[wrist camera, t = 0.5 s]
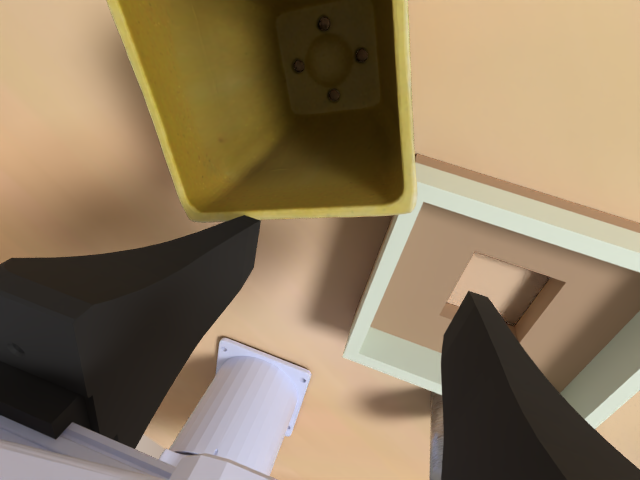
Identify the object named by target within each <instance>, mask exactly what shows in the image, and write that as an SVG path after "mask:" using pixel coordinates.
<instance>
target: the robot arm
mask: <svg viewBox="0 0 640 480" xmlns="http://www.w3.org/2000/svg"><path fill="white" fill-rule="evenodd" d="M260 222H261V220H258V219H255V218H252V217H249V216H246V215H243V216H240V217H237V218H234V219H231V220H229V221H226V222H224V223H221V224H218V225H216V226H213V227H210V228H208V229H205V230H202V231H200V232H197V233H194V234H190V235H187V236H184V237H181V238H178V239H175V240H172V241H168V242H164V243H160V244H156V245H152V246H147V247H143V248H138V249H132V250H126V251H119V252H113V253H106V254H98V255H88V256H75V257H57V258H11V259H9V260H7V261H5V262H3V263H2V264H0V480H277V479H275V478H273V477H270V473H271V471H272V468H273V465H274V463H275V460H276V457H277V454H278V452H279V449H280V446H281V444H282V441H283V438H284V436H290V435H291V434H292V431H293V428H294V425H295V422H296V419H297V416H298V413H299V410H300V407H301V404H302V401H303V398H304V395H305V392H306V389H307V386H308V384H309V381H310V378H311V372H310V371H309V370H307V369H305V368H302V367H300V366H297V365H295V364H292V363H289V362H287V361H284V360H282V359H279V358H277V357H274V356H272V355H269V354H266V353H264V352H261V351H259V350H256V349H254V348H251V347H249V346H246V345H243V344H241V343H238V342H236V341H233V340H231V339H228V338H222V339H221V340H220V342H219V349H218V358H217V367H216V375H215V377H214V379H213V381H212V382H211V384H210V385H209V387H208V388H207V390H206V392H205V393H204V395H203V396H202V398H201V399H200V401H199V403H198V404H197V406H196V407H195V409H194V410H193V412H192V414H191V415H190V417H189V418H188V420H187V421H186V423H185V425H184V426H183V428H182V429H181V431H180V433H179V434H178V436H177V437H176V439H175V440H174V442H173V444H172V445H171V447H170V448H169V449H165V450H164V452H163V453H162V455H161V456H160V458H159V459H156V458H154V457H152V456H149V455H147V454H145V453H142V452H140V451H138V450H135V448H136V446H137V444H138V443H139V441H140V439H141V437H142V435H143V434H144V432H145V430H146V428H147V426H148V425H149V423H150V421H151V419H152V418H153V416H154V414H155V412H156V411H157V409H158V407H159V406H160V404H161V402H162V400H163V399H164V397H165V395H166V394H167V392H168V390H169V389H170V387H171V385H172V384H173V382H174V381H175V379H176V377H177V376H178V374H179V372H180V371H181V369H182V367H183V366H184V364H185V363H186V361H187V360H188V358H189V357H190V355H191V353H192V352H193V350H194V349H195V347H196V346H197V344H198V343H199V342H200V340H201V339H202V337H203V336H204V335H205V333H206V332H207V331H208V330H209V329H210V327H211V326H212V325H213V324H214V322H215V321H216V320H217V319H218V317H219V316H220V315H221V314H222V312H223V311H224V310H225V309H226V307H227V306H228V305H229V304H230V302H231V301H232V300H233V299H234V297H235V296H236V295H237V294H238V292H239V291H240V290H241V288H242V286H243V285H244V283H245V282H246V280H247V278H248V276H249V275H250V273H251V271H252V269H253V268H254V262H255V255H256V248H257V242H258V235H259V229H260ZM441 384H442V405H443V427H444V441H443V457H442V473H441V480H640V469H638V468H637V467H636V466H635V465H634V464H632V463H631V462H630V461H629V460H628V459H627V458H625V457H624V456H623V455H622V454H621V453H620V452H619V451H618V450H616V449H615V448H614V447H613V446H612V445H611V444H610V443H609V442H608V441H606V440H605V439H604V438H603V437H602V436H601V435H600V434H599V433H598V432H597V431H596V430H595V429H594V428H593V427H592V426H591V425H590V424H589V423H588V422H587V421H586V420H585V419H584V418H583V417H582V416H581V415H580V414H579V413H578V412H577V411H576V410H575V409H574V408H573V407H572V406H571V405H570V404H569V403H568V402H567V401H566V399H565V398H564V397H563V396H562V395H561V394H560V393H559V392H558V391H557V390H556V388H555V387H554V386H553V385H552V384H551V383H550V382H549V380H548V379H547V378H546V377H545V376H544V374H543V373H542V372H541V371H540V369H539V368H538V367H537V365H536V364H535V363H534V362H533V360H532V359H531V358H530V356H529V355H528V354H527V352H526V351H525V350H524V348H523V347H522V346H521V344H520V343H519V341H518V340H517V339H516V337H515V336H514V334H513V333H512V331H511V330H510V329H509V327H508V326H507V324H506V323H505V321H504V320H503V318H502V317H501V315H500V314H499V312H498V311H497V309H496V308H495V307H494V305H493V304H492V302H491V301H490V300H489V298H488V297H485V296H482V295H479V294H476V293H473V292H470V291H468V293H467V295H466V296H465V298H464V300H463V302H462V303H461V305H460V307H459V309H458V310H457V312H456V314H455V316H454V317H453V319H452V321H451V323H450V324H449V326H448V328H447V330H446V331H445V333H444V335H443V344H442V354H441Z"/></svg>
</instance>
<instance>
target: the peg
mask: <svg viewBox="0 0 640 480" xmlns="http://www.w3.org/2000/svg"><path fill="white" fill-rule="evenodd" d="M443 441H444V427H443V405H442V395H440V394H437V393H435V392H432V395H431V435H430V480H441V473H442V457H443Z"/></svg>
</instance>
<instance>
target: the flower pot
mask: <svg viewBox="0 0 640 480" xmlns="http://www.w3.org/2000/svg"><path fill="white" fill-rule="evenodd" d="M106 1H107V4H108V7H109V9H110V12H111V15H112V17H113V20H114V22H115V25H116V27H117V30H118V32H119V34H120V37H121V39H122V42H123V45H124V47H125V50H126V53H127V55H128V58H129V61H130V63H131V66H132V69H133V71H134V73H135V76H136V78H137V81H138V83H139V86H140V88H141V91H142V93H143V96H144V99H145V102H146V105H147V107H148V110H149V113H150V116H151V118H152V121H153V124H154V127H155V130H156V133H157V136H158V138H159V142H160V145H161V149H162V151H163V154H164V157H165V160H166V163H167V166H168V169H169V172H170V175H171V177H172V180H173V183H174V186H175V189H176V192H177V195H178V198H179V200H180V202H181V204H182V206H183V208H184V210H185V212H186V214H187V216H188V218H189V219H190V220H191V221H193V222H201V223H206V222H226V221H229V220H231V219H234V218H237V217H240V216H243V215H246V216H249V217H252V218H255V219H258V220H273V219H301V218H331V217H368V216H391V215H400V214H407V213H411V212H412V211H413V210H414V208H415V206H416V202H417V194H418V193H417V179H416V167H415V151H414V132H413V112H412V88H411V62H410V38H409V15H408V0H106ZM322 17H327V18H328V19H329V20H330V27H329V28H328V29H327V30H326V31H324V30H321V29H320V27H319V20H320V19H321V18H322ZM360 49H364V50H366V52H367V53H368V57H367V59H366V60H365V61H364V62H359V61H358V60H357V58H356V53H357V52H358V50H360ZM296 60H301V61H302V62H303V63H304V70H303V71H301V72H298V71H296V70H295V68H294V63H295V62H296ZM333 89H335V90H337V91H338V92H339V94H340V97H339V99H338V100H337V101H333V100H331V99H330V98H329V92H330V91H331V90H333Z"/></svg>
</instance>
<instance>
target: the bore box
mask: <svg viewBox="0 0 640 480" xmlns="http://www.w3.org/2000/svg"><path fill="white" fill-rule="evenodd" d="M415 167H416V179H417V193H418V194H417V202H416V206H415V208H414V210H413V211H412V212H411V213H407V214H400V215H393V217H392V219H391V222H390V224H389V227H388V230H387V232H386V235H385V237H384V240H383V243H382V245H381V248H380V250H379V253H378V256H377V258H376V261H375V263H374V266H373V269H372V271H371V274H370V276H369V279H368V281H367V284H366V287H365V289H364V292H363V294H362V297H361V300H360V302H359V305H358V307H357V310H356V313H355V315H354V319H353V322H352V326H351V329H350V333H349V336H348V340H347V343H346V347H345V350H344V354H343V357H344V358H346V359H349V360H351V361H354V362H357V363H359V364H362V365H364V366H367V367H370V368H372V369H375V370H377V371H380V372H383V373H385V374H388V375H391V376H393V377H396V378H398V379H401V380H404V381H406V382H409V383H411V384H414V385H417V386H419V387H422V388H424V389H427V390H430V391H432V392H435V393H437V394H440V395H442V384H441V354H442V344H443V335H444V333H445V331H446V330H447V328H448V326H449V324H450V323H451V321H452V319H453V317H454V316H455V314H456V312H457V310H458V309H459V307H458V306H455V305H452V304H449V303H447V300H448V299H449V297H450V295H451V293H452V291H453V290H454V288H455V286H456V284H457V282H458V281H459V279H460V277H461V275H462V274H463V272H464V270H465V268H466V266H467V265H468V263H469V261H470V259H471V258H472V256H473V254H474V252H477V253H480V254H483V255H486V256H489V257H492V258H495V259H498V260H501V261H504V262H507V263H510V264H513V265H516V266H519V267H522V268H525V269H528V270H531V271H534V272H537V273H540V274H543V275H546V276H549V277H550V279H549V280H548V282H547V283H546V284H545V286H544V287H543V288H542V290H541V291H540V292H539V294H538V295H537V297H536V298H535V299H534V301H533V302H532V303H531V305H530V306H529V307H528V309H527V310H526V312H525V313H524V314H523V316H522V317H521V318H520V320H519V321H518V322H517V324H516V325H515V327H514V326H511V325H508V324H507V326H508V327H509V329H510V330H511V331H512V333H513V334H514V336H515V337H516V339H517V340H518V341H519V343H520V344H521V346H522V347H523V348H524V350H525V351H526V352H527V354H528V355H529V356H530V358H531V359H532V360H533V362H534V363H535V364H536V365H537V367H538V368H539V369H540V371H541V372H542V373H543V374H544V376H545V377H546V378H547V379H548V380H549V382H550V383H551V384H552V385H553V386H554V387H555V388H556V390H557V391H558V392H559V393H560V394H561V395H562V396H563V397H564V398H565V399H566V401H567V402H568V403H569V404H570V405H571V406H572V407H573V408H574V409H575V410H576V411H577V412H578V413H579V414H580V415H581V416H582V417H583V418H584V419H585V420H586V421H587V422H588V423H589V424H590V425H591V426H592V427H593V428H594V429H596V428H597V427H598V426H599V425H600V424H601V423H602V422H604V421H605V420H606V419H607V418H608V417H609V416H611V415H612V414H613V413H614V412H615V411H616V410H617V409H619V408H620V407H621V406H622V405H623V404H624V403H626V402H627V401H628V400H629V399H630V398H631V397H632V396H634V395H635V394H636V393H637V392H638V391H639V390H640V223H637V222H634V221H631V220H627V219H624V218H621V217H618V216H615V215H611V214H608V213H605V212H602V211H599V210H595V209H592V208H589V207H586V206H583V205H580V204H576V203H573V202H570V201H567V200H564V199H560V198H557V197H554V196H551V195H548V194H544V193H541V192H538V191H535V190H532V189H528V188H525V187H522V186H519V185H516V184H513V183H509V182H506V181H503V180H500V179H497V178H493V177H490V176H487V175H484V174H481V173H477V172H474V171H471V170H468V169H465V168H461V167H458V166H455V165H452V164H449V163H445V162H442V161H439V160H436V159H433V158H430V157H426V156H423V155H420V154H417V155H416V157H415Z"/></svg>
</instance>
